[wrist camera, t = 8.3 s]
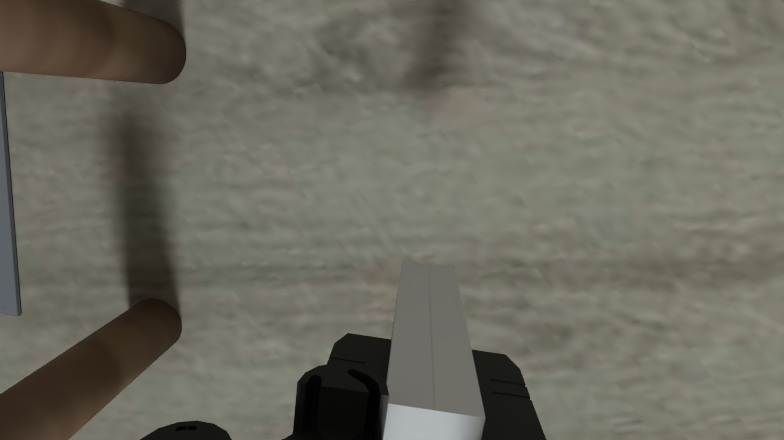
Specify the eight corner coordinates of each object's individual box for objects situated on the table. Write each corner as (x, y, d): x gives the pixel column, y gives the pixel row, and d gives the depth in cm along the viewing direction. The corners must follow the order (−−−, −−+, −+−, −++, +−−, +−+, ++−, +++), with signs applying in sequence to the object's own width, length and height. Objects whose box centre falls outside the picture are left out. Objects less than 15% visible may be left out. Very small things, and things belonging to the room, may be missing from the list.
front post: (126, 80, 20) (-115, 58, 11) (125, 15, 19) (-132, -62, 10) (185, 87, 20) (-14, 72, 11) (186, 22, 19) (-24, -49, 10)
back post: (130, 343, 23) (-56, 488, 14) (129, 295, 22) (-66, 416, 14) (181, 352, 23) (23, 503, 14) (181, 303, 22) (17, 431, 13)
